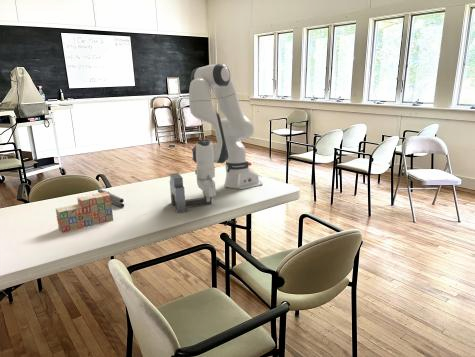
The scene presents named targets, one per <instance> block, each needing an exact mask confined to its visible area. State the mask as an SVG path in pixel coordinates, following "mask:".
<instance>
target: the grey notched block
mask: <svg viewBox="0 0 475 357" xmlns="http://www.w3.org/2000/svg"><path fill="white" fill-rule="evenodd" d="M169 178H170V180H169V189H170V201H171V202H170V203H171V205H172V206H174V208H175V212H176V213H177V214H179V213H180V214H181V213H187V212H186V209H187V207H185V200H186V194H185V186H184V180H183V179H184V178H183V177H182V176H181V175H180V173H179V172H175V173H174V172H172V173H169Z"/></svg>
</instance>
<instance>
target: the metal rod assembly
mask: <svg viewBox="0 0 475 357" xmlns="http://www.w3.org/2000/svg"><path fill="white" fill-rule="evenodd" d="M103 192H107V193H108V194H110V196H111V202H112V205H113V204H114V205H115V206H117V207H120V208H125V204H124V198H121V197H119V196H118V195H116V194H113V193H111V192H110V191H108V190H107V191H106V190H103V189H101V188H99V189H97V193H103Z"/></svg>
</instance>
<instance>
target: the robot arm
mask: <svg viewBox="0 0 475 357" xmlns="http://www.w3.org/2000/svg"><path fill="white" fill-rule="evenodd" d="M235 87H236V86H235V85H234V82H233V80H232V77H231V72H230V69H229V68H228V66H227V65H226V64H223V63H216V64H208V65H205V66H201V67H197V68H195V69H193V70H192V71H191V74H190V83H189V89H188V90H189V91H188V103H189V104H188V105H189V111H190V114H191V115H192V116H193V117H194V118H196V119H197V120H200V121H203V122H206V123H208V124H210V125H212V127H213V129H214V133H215V138H216V143H213V142H212V141H211V140H209V139H200V140H198V141H197V142H196V144H195V145H194V146H193V147H192V149H191V151H192V161H194V163H196V167H195V168H196V169H195V171H194V173H195V175H196V183H197V186H198V188H199V189H200V190H201V191H202V195H203V196H202V197H206V201H207V202H210V197H211V198H214V197H216V195H217V190H216V182H215V180H213V178H215V176H216V173H215V172H216V171H215V170H216V169H215V168H216V167H215V164H224V163H225V172H226V173H225V180H224V181H225V182H224V187H226V188H230V189H239V190H245V189H248V188H254V187H259V186H263V185H264V183H263V181H262V180H261V179H260V178H259V175H258V173H257V172H256V171H255V170H254V169H252V168H251V166H252V162H250V161H247V160H246V147H245V145H244V144H243V143H242V140H241V139H249V138H251V137H252V136H253V135H254V132H255V126H254V124H253V122H252V121H251V120H250V119H249V118H248V117H247V116H246V114H245V113H244V111H243V109H242V107H241V104H240V101H239V99H238V95H237V91H236V88H235ZM212 89H214V90H213V91H214V94H215V98H216V101H217V104H218V109H219V111H220V113H222V115H223V116H224V117H222V118H221V117H220V114H219V113H218V111H216V110H215V109H214V107H213V104H212V102H213V101H212V93H211V90H212Z"/></svg>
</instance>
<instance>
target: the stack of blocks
mask: <svg viewBox="0 0 475 357" xmlns="http://www.w3.org/2000/svg"><path fill="white" fill-rule="evenodd" d="M107 192H108V191H107ZM107 192H103V193H99V192H97V193H91V194H87V195H82V196H77V203H76V204H71V205H67V206H62V207H56V208H55V212H56V214H55V215H56V221H57V226H58V227H57V228H58V230H59V231H60V232H61V234H64V233H68V232H72V230H73V231H76V230H80V229H85V228H88V226H89V227H92V226H96V225H99V224H105V223H108V222H113V221H114V215H113V203H112V202H111V196H110V194H108V193H107ZM84 227H85V228H84Z"/></svg>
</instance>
